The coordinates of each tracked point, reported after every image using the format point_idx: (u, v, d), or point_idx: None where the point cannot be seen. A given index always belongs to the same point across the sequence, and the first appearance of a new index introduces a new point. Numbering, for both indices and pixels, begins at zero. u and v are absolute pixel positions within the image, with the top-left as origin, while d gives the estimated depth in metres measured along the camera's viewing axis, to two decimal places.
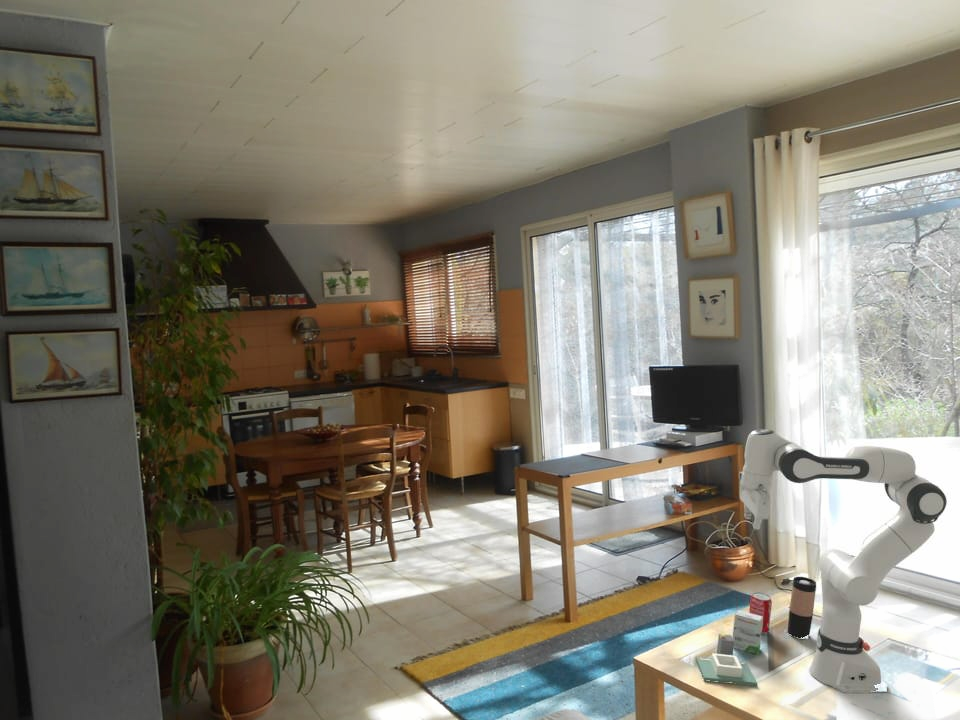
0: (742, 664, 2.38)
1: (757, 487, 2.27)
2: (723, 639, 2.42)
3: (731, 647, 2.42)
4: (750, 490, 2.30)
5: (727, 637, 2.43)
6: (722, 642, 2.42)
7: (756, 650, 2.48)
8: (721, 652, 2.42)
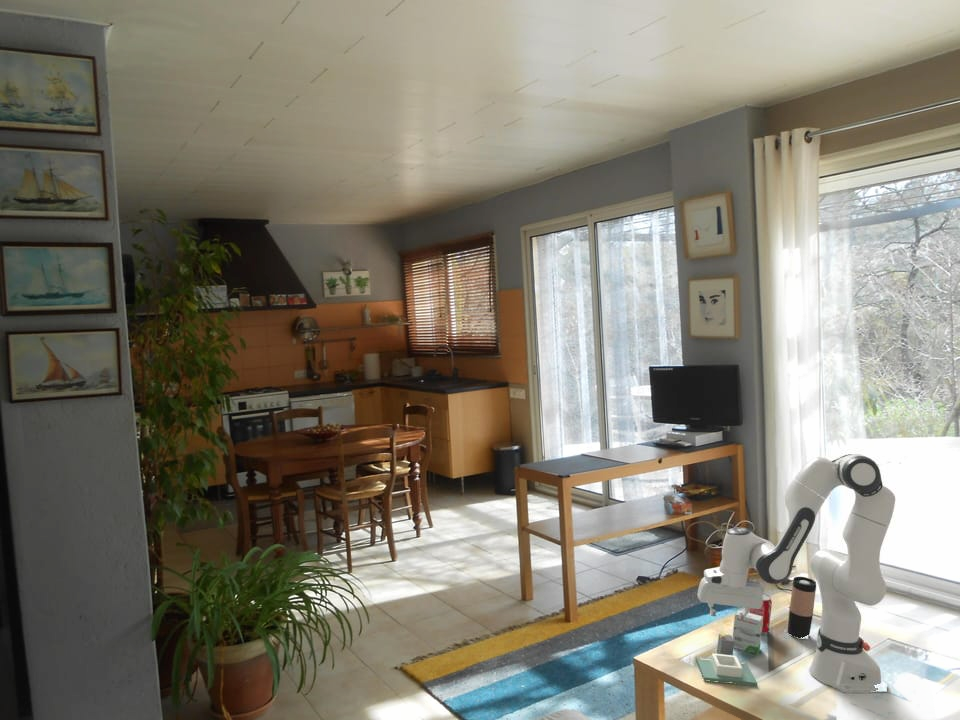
0: (742, 664, 2.38)
1: (746, 582, 2.40)
2: (723, 639, 2.42)
3: (731, 647, 2.42)
4: (740, 588, 2.39)
5: (727, 637, 2.43)
6: (722, 642, 2.42)
7: (756, 650, 2.48)
8: (721, 652, 2.42)
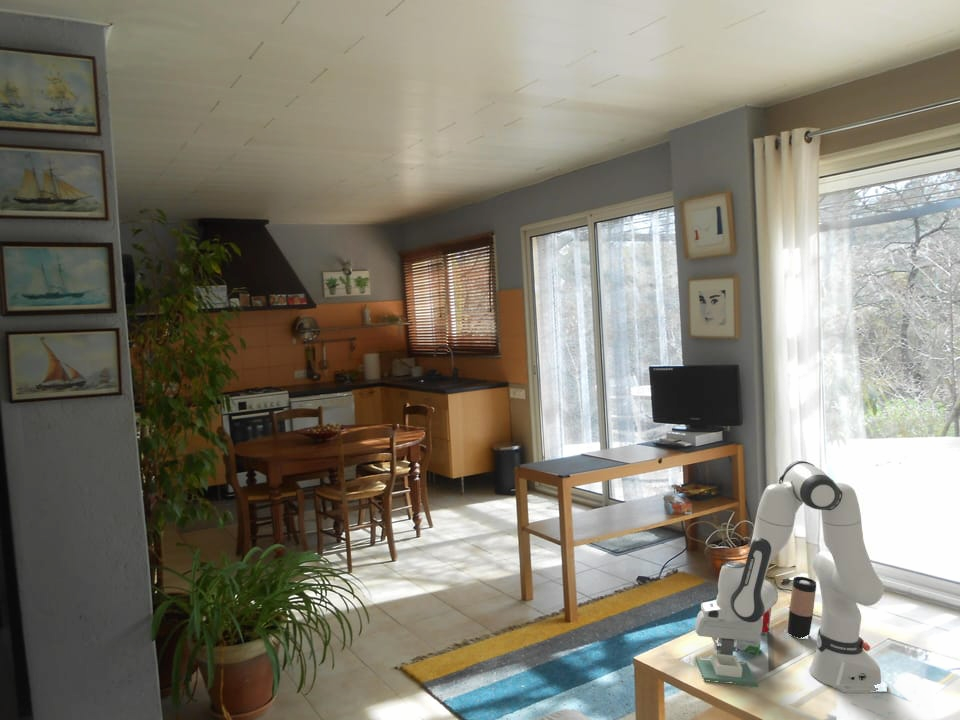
0: (742, 664, 2.38)
1: None
2: (723, 639, 2.42)
3: (731, 647, 2.42)
4: (737, 621, 2.40)
5: None
6: (722, 642, 2.42)
7: (756, 650, 2.48)
8: (721, 652, 2.42)
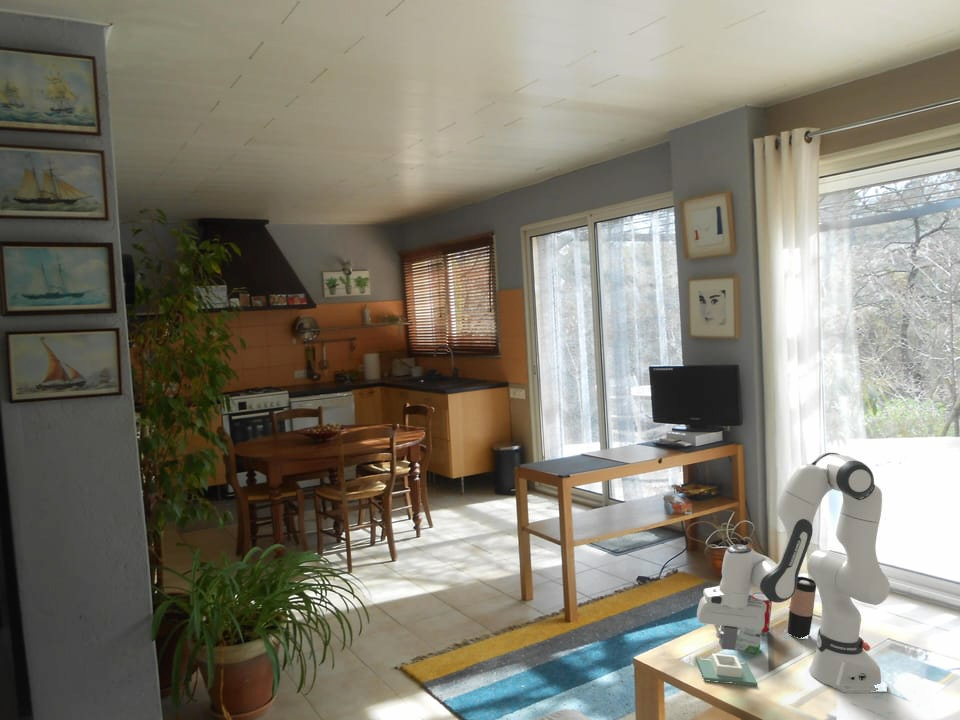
0: (742, 664, 2.38)
1: (747, 602, 2.30)
2: (726, 627, 2.31)
3: (734, 635, 2.31)
4: (741, 608, 2.29)
5: None
6: (725, 630, 2.31)
7: (756, 650, 2.48)
8: (724, 640, 2.31)
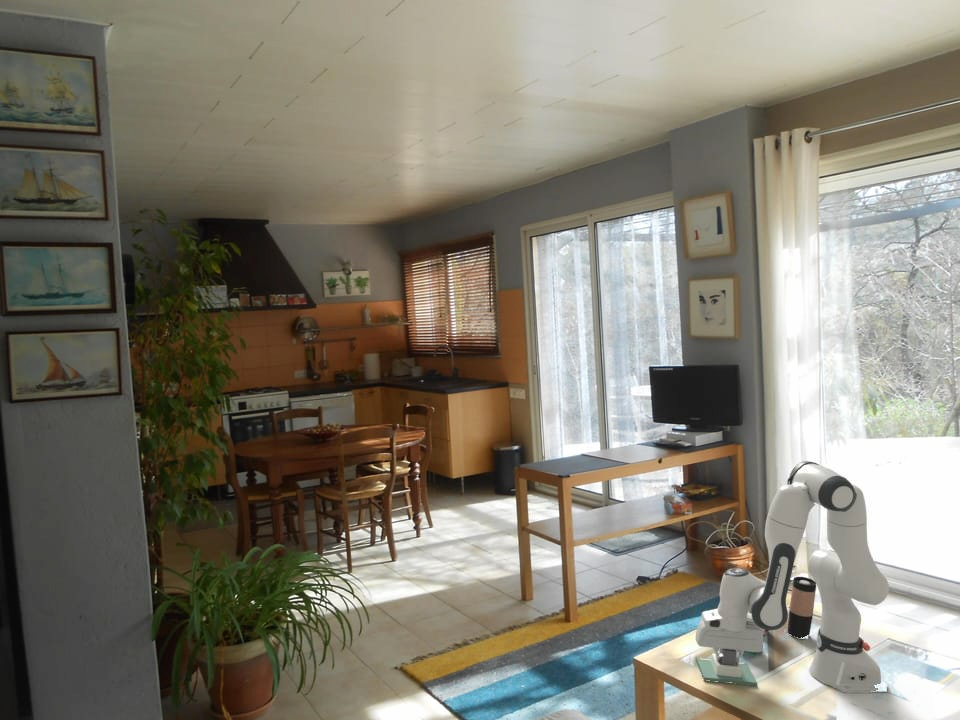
0: (742, 664, 2.38)
1: (746, 625, 2.31)
2: (725, 649, 2.32)
3: (733, 658, 2.31)
4: (739, 631, 2.30)
5: None
6: (724, 653, 2.32)
7: None
8: (723, 663, 2.32)
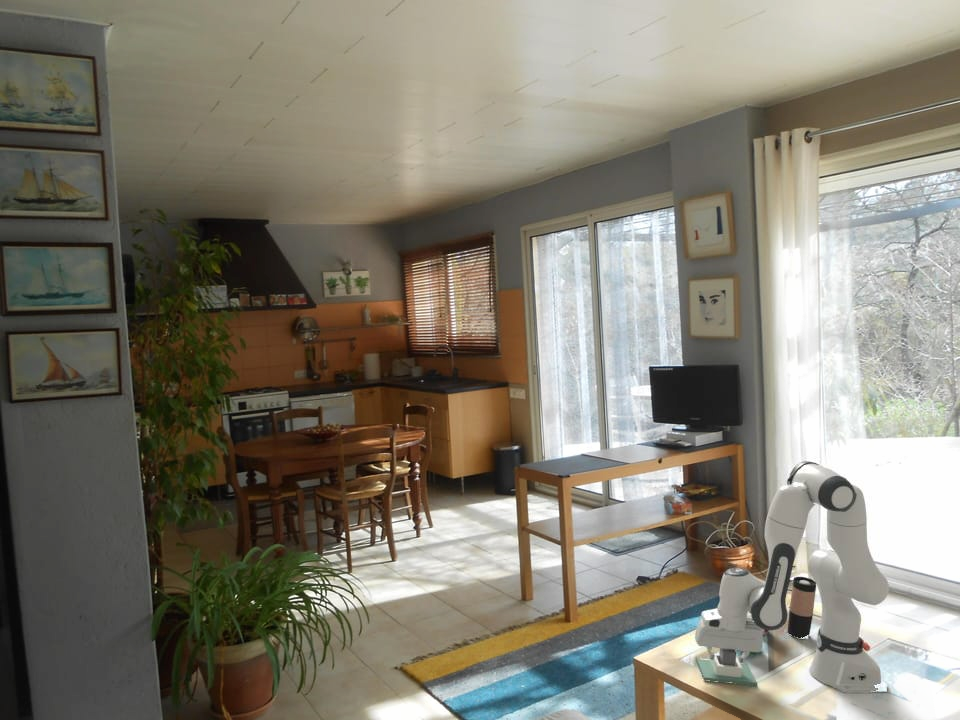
0: (742, 664, 2.38)
1: (745, 624, 2.31)
2: (725, 651, 2.32)
3: (733, 659, 2.32)
4: (739, 631, 2.30)
5: (729, 649, 2.33)
6: (724, 654, 2.32)
7: None
8: (723, 664, 2.32)
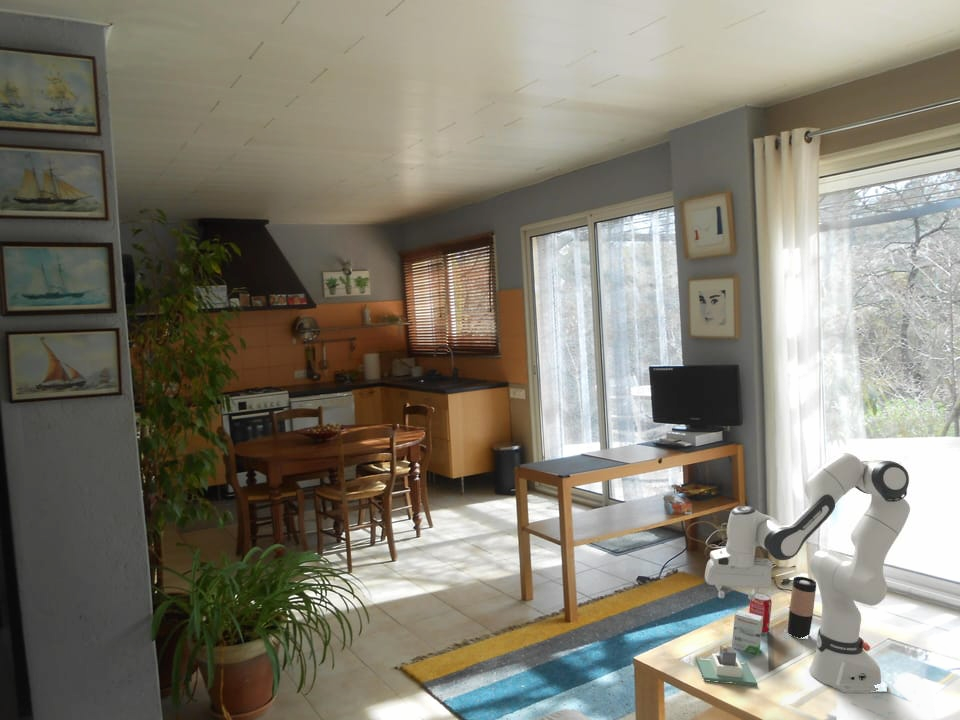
0: (742, 664, 2.38)
1: (754, 561, 2.35)
2: (725, 651, 2.32)
3: (733, 659, 2.32)
4: (748, 568, 2.34)
5: (729, 649, 2.33)
6: (724, 654, 2.32)
7: (756, 650, 2.48)
8: (723, 664, 2.32)
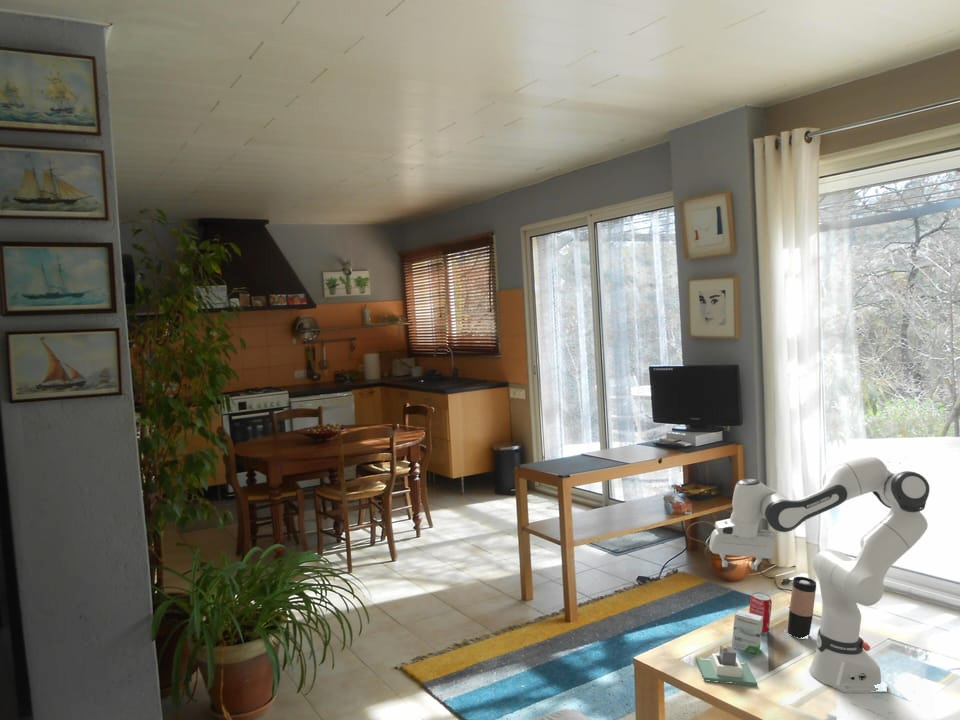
0: (742, 664, 2.38)
1: (757, 532, 2.43)
2: (725, 651, 2.32)
3: (733, 659, 2.32)
4: (751, 538, 2.42)
5: (729, 649, 2.33)
6: (724, 654, 2.32)
7: (756, 650, 2.48)
8: (723, 664, 2.32)
